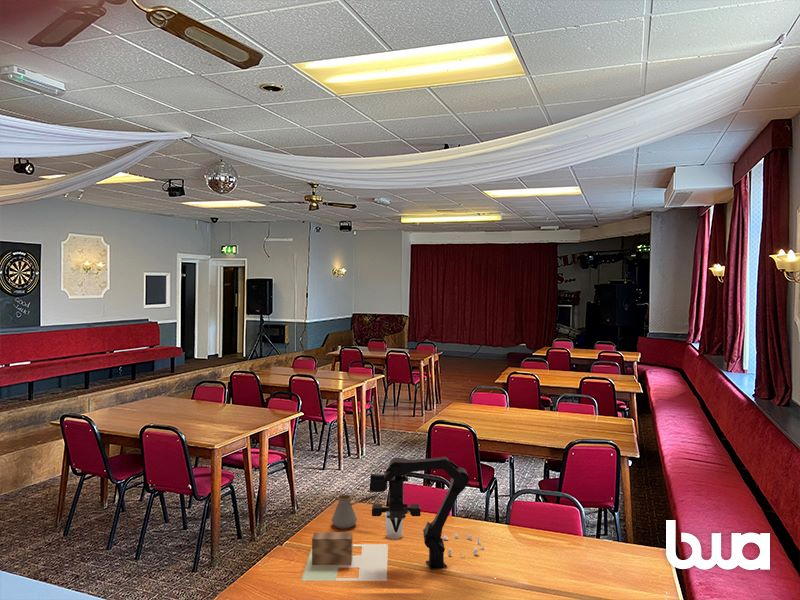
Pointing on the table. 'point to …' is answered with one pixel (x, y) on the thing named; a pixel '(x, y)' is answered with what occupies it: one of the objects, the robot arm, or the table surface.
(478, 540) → the game piece set
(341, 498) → the coffee pot
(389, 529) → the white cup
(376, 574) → the trap board
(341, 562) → the brown wooden block
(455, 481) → the robot arm
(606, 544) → the table surface
